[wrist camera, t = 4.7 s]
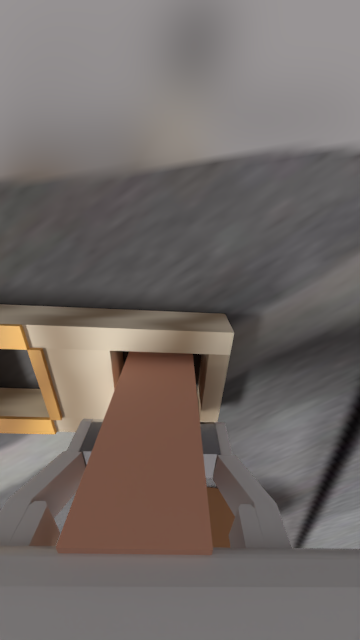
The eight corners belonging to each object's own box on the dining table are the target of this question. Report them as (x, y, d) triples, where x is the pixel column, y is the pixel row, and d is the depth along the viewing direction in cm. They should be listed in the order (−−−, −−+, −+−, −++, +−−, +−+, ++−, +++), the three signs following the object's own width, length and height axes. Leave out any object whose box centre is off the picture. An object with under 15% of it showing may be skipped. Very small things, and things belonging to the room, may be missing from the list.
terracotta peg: (191, 342, 14) (212, 549, 5) (187, 385, 16) (199, 597, 7) (133, 339, 14) (55, 547, 5) (136, 383, 16) (81, 596, 7)
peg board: (224, 313, 13) (235, 334, 11) (209, 407, 17) (215, 438, 15) (-63, 301, 13) (-119, 320, 10) (-13, 400, 17) (-46, 431, 14)
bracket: (172, 481, 22) (170, 582, 16) (245, 488, 23) (269, 587, 17) (151, 548, 30) (145, 634, 24) (207, 552, 31) (214, 635, 25)
